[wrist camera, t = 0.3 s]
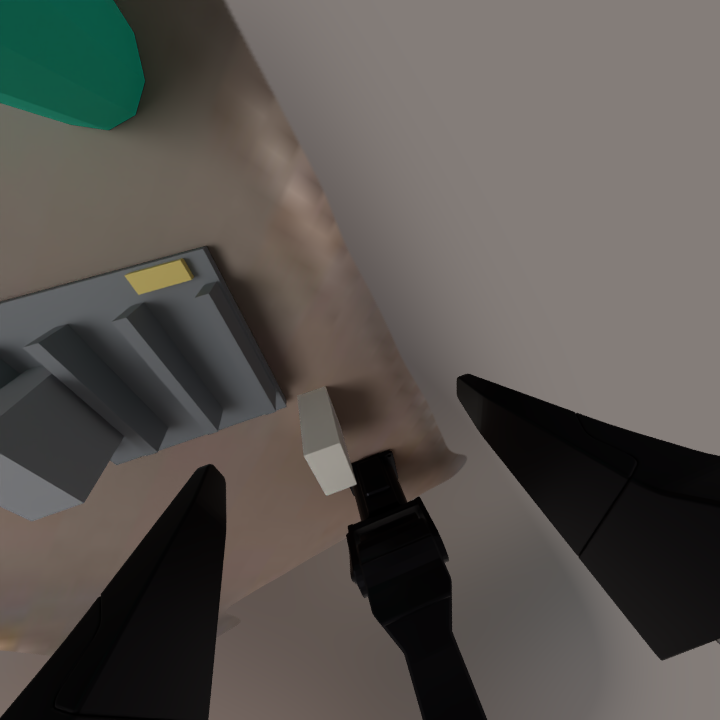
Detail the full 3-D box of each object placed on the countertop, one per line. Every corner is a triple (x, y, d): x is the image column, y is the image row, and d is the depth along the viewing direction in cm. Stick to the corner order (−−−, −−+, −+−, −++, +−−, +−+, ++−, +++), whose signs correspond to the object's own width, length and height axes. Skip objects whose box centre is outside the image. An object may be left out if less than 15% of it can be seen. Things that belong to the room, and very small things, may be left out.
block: (340, 426, 29) (356, 484, 23) (316, 435, 29) (326, 496, 23) (325, 386, 25) (339, 442, 20) (297, 395, 25) (303, 455, 19)
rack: (286, 399, 25) (290, 473, 19) (122, 455, 24) (63, 557, 17) (206, 245, 17) (163, 281, 10) (-53, 315, 15) (-289, 408, 9)
